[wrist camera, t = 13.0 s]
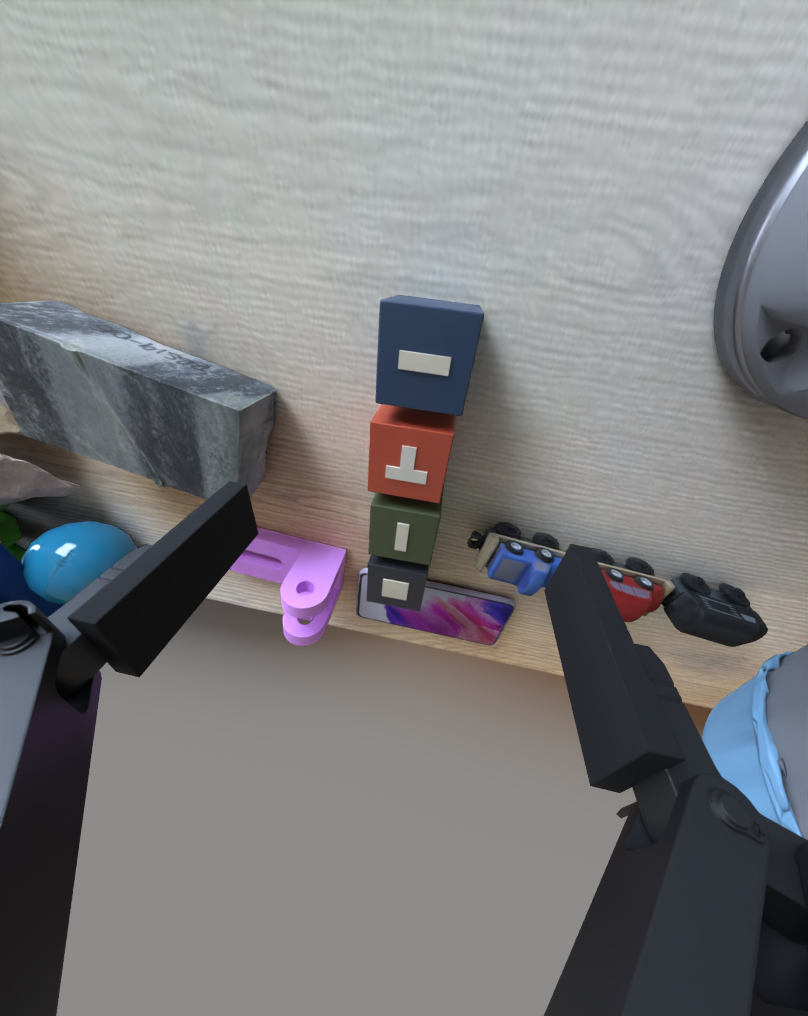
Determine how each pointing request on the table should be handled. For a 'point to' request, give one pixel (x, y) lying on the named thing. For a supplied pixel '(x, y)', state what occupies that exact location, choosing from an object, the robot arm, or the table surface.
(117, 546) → the ball
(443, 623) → the smartphone
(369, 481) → the letter block
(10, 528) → the toy garden set
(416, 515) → the block
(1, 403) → the stone
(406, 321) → the block
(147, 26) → the table surface
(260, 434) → the stone block
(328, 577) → the bracket
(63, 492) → the stone tool
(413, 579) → the block
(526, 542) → the toy train
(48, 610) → the electronic device
